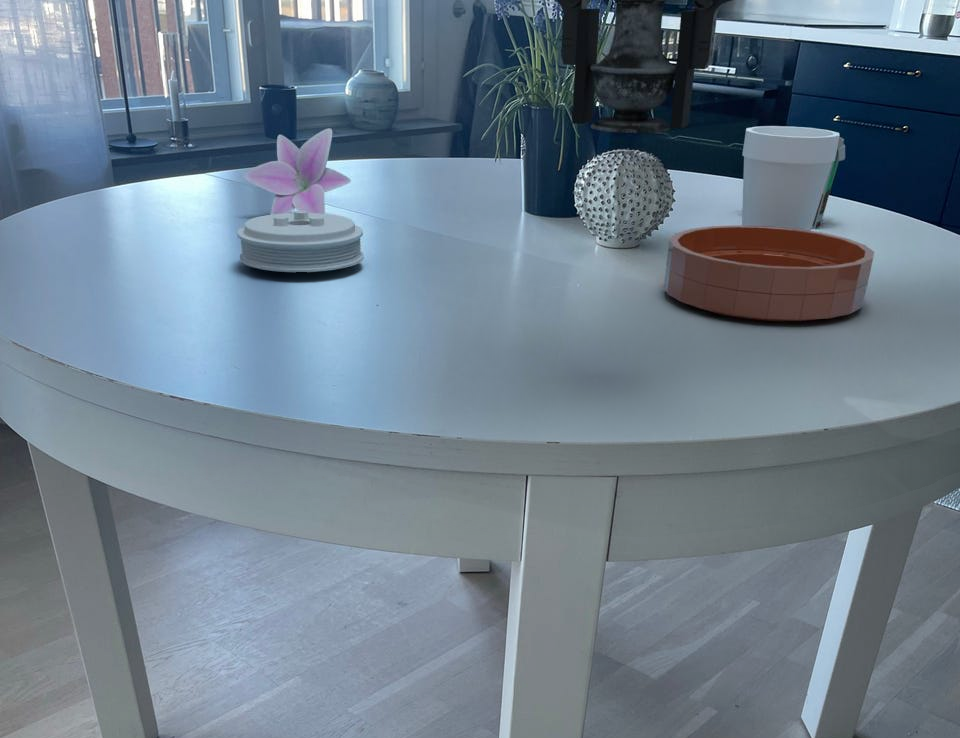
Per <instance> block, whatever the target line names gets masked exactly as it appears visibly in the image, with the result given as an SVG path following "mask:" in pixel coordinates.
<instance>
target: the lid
mask: <svg viewBox="0 0 960 738" xmlns="http://www.w3.org/2000/svg"><path fill="white" fill-rule="evenodd" d="M236 234H237V235H236V236H237V238H238V239H240V245H241V253H240V255H239V261H240V262H241V263H242V264H244V265H245V266H248V267H251V268H255V269H257V270H258V269H259V270H264V271H269V272H271V271H272V272H282V273H283V272H284V273H296V272H307V273H316V272H326V271H335V270H340V269H341V270H342V269H345V268H348V267H353V266H355V265H358V264H359V263H361V262H363V260H364V259H365V254H364V252H363V251H362V248H361V247H362V245H361V238H362V237H363V235H364V231H363V228H361V226H359V225H356V223H355V221H354V220H353V219H351V218H348V217H345V216H342V215H337V214H330V213H325V214H321V213H308V212H307V211H298V210H296V211H293V212H289V213H282V214H272V215H271V214H266V215H261V216H255V217H253V218H250V219H248V220H246V221H245V222H244V224H243V226H242V227H240V228H239V229H237V231H236Z"/></svg>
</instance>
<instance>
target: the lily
mask: <svg viewBox="0 0 960 738" xmlns="http://www.w3.org/2000/svg"><path fill="white" fill-rule="evenodd" d="M332 139H333V129H332V128H331V127H330V128H325V129H323V130H321V131H319V132H318V133H316V134H315V135H313V136H312V137H310V138H309V139H307V140H306V141H305V142H304V143H303V144H302V145H301V146H300V148H298V146H297V145H296V144H295V143H293V141H291V140H290V139H289V138H287V137H286V136H284V135H283V134H278V135H277V138H276V157H277V160H273V161H268V162H264V163H261V164H259V165H257V166H255V167H252V168H250V169H249V170H247V171H245V172H244V174H243V175H242V176H243V178H244V179H245V180H246V181H247V182H249V183H251V184H253V185H254V186H257V187H259V188H261V189H263V190H265V191H267V192H268V193H269V192H270V193H272V194H274V198H273V200H272V205H271V209H270V215H272V214H282V213H292V211H294V209H296V211H307V212H308V213H321V214H326V206H325V205H326V204H325V203H326V202H325V201H326V199H325V193H327V192H331V191H333V190H336V189H338V188H339V189H340V188H342V187H344V186H346V185H349V184H351V182H352V180H351V179H350V178H349V177H348V176H347V175H345V174H343V173H342V172H340V171H337V170H335V169H333V168H330V167H327V164H328V161H329V156H330V155H329V154H330V150H331V145H332V141H333V140H332Z"/></svg>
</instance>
